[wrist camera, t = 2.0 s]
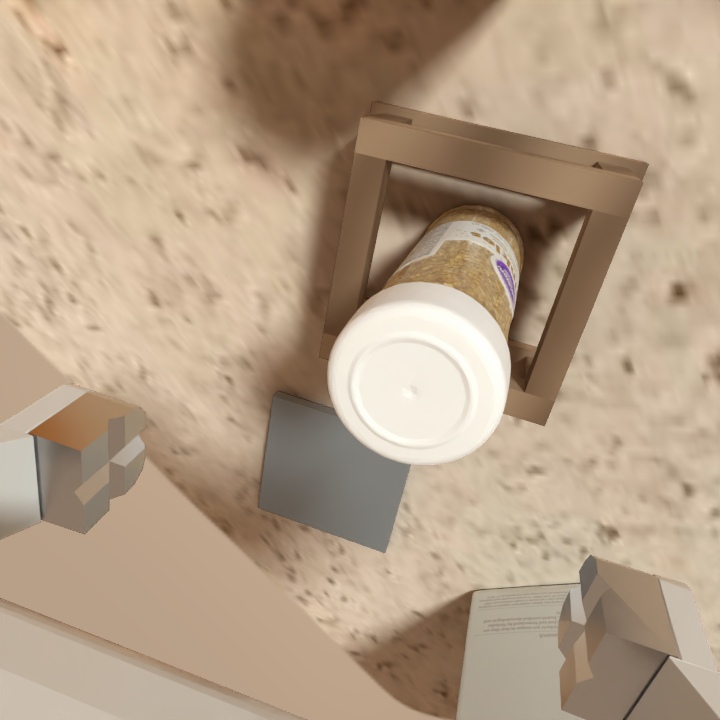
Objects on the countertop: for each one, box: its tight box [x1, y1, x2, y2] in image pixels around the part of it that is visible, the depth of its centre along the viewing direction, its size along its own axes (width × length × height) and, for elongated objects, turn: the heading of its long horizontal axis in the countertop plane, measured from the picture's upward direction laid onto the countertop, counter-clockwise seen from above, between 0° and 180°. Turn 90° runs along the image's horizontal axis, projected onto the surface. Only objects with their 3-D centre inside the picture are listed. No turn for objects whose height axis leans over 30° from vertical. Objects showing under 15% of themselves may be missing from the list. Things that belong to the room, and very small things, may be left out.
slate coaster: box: [258, 391, 411, 553], centre depth 33 cm, size 8×8×1 cm
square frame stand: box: [319, 101, 649, 426], centre depth 24 cm, size 11×10×4 cm
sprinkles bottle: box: [327, 205, 524, 466], centre depth 20 cm, size 5×5×14 cm
